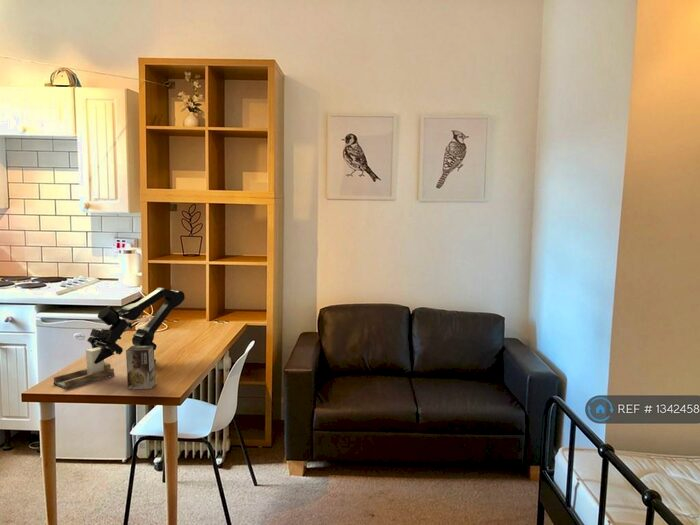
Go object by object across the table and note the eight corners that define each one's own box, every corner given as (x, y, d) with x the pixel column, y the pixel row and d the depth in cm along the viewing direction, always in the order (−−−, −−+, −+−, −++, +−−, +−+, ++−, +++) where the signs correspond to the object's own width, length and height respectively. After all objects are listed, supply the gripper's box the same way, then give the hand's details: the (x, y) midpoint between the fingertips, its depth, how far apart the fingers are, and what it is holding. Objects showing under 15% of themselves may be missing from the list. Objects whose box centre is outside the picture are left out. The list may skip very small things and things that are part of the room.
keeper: (98, 371, 219) (97, 347, 218) (104, 373, 217) (103, 348, 216) (87, 374, 215) (85, 349, 214) (92, 376, 213) (91, 351, 212)
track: (101, 371, 223) (100, 360, 223) (114, 375, 218) (113, 364, 217) (53, 384, 207) (53, 372, 206) (66, 389, 201) (65, 376, 201)
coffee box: (155, 383, 208) (154, 345, 206) (150, 389, 202) (148, 349, 200) (133, 383, 208) (131, 345, 206) (126, 389, 202) (125, 349, 200)
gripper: (90, 318, 222) (65, 348, 214) (114, 324, 212) (89, 356, 204) (108, 332, 229) (85, 362, 222) (132, 338, 219) (109, 370, 211)
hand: (91, 362), depth 214 cm, fingers closed on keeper, 4 cm apart
